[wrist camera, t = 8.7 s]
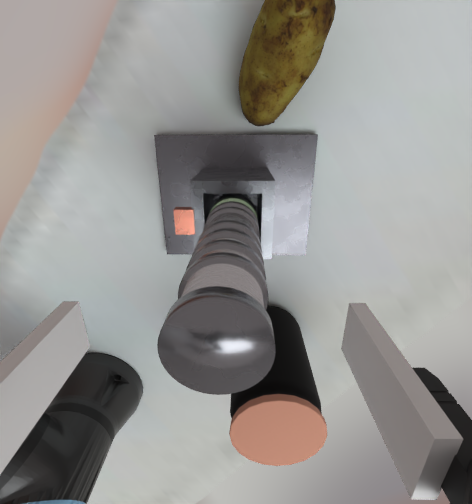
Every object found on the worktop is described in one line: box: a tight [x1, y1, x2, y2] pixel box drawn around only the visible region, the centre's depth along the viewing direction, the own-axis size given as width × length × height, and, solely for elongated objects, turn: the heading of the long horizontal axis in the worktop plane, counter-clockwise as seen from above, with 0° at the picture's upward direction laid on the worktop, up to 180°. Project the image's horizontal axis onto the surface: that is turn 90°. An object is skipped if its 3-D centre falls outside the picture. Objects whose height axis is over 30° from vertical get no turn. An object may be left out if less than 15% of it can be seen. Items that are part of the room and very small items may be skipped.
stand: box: [154, 134, 318, 259], centre depth 34 cm, size 20×16×11 cm
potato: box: [239, 0, 335, 126], centre depth 29 cm, size 8×13×8 cm, turn 137°
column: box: [158, 193, 275, 395], centre depth 22 cm, size 5×5×22 cm
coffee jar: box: [229, 306, 327, 466], centre depth 40 cm, size 11×11×18 cm
